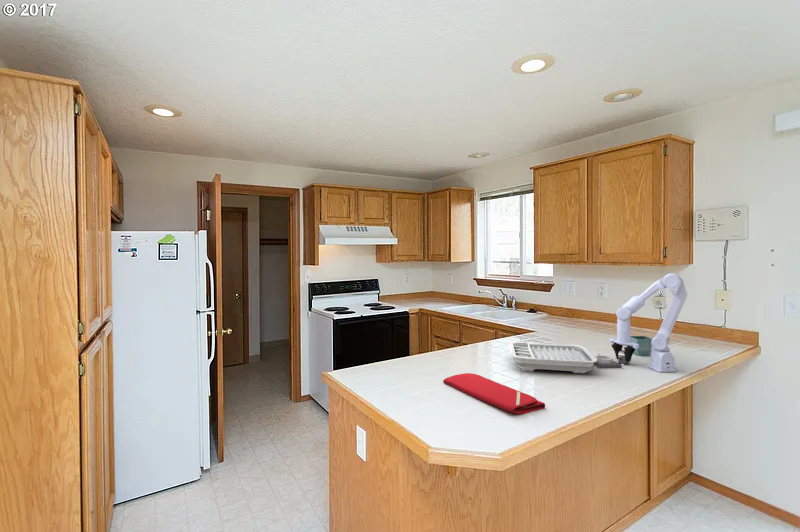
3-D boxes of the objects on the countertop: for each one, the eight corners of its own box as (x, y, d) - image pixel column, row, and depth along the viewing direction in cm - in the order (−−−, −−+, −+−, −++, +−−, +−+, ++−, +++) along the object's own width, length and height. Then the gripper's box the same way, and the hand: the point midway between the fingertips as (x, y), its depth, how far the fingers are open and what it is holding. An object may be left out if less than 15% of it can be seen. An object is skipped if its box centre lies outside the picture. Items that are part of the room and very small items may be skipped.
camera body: (621, 368, 191) (621, 360, 190) (599, 368, 191) (599, 360, 191) (606, 360, 205) (606, 353, 204) (586, 360, 205) (586, 353, 205)
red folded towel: (472, 378, 180) (472, 369, 180) (546, 409, 144) (546, 398, 144) (442, 384, 173) (442, 375, 173) (512, 418, 137) (512, 407, 137)
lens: (630, 365, 196) (631, 352, 196) (621, 365, 196) (621, 352, 196) (625, 362, 201) (625, 349, 201) (616, 362, 201) (616, 350, 201)
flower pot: (654, 356, 211) (654, 339, 211) (636, 356, 211) (637, 339, 211) (644, 352, 220) (644, 335, 219) (627, 352, 220) (627, 335, 220)
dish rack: (600, 378, 177) (600, 360, 177) (511, 374, 185) (511, 356, 184) (584, 359, 208) (584, 343, 207) (508, 356, 215) (508, 341, 215)
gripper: (643, 334, 193) (643, 363, 193) (616, 328, 206) (616, 356, 207) (632, 335, 190) (632, 364, 191) (606, 330, 204) (606, 357, 204)
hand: (623, 360), depth 198 cm, fingers closed on lens, 4 cm apart
